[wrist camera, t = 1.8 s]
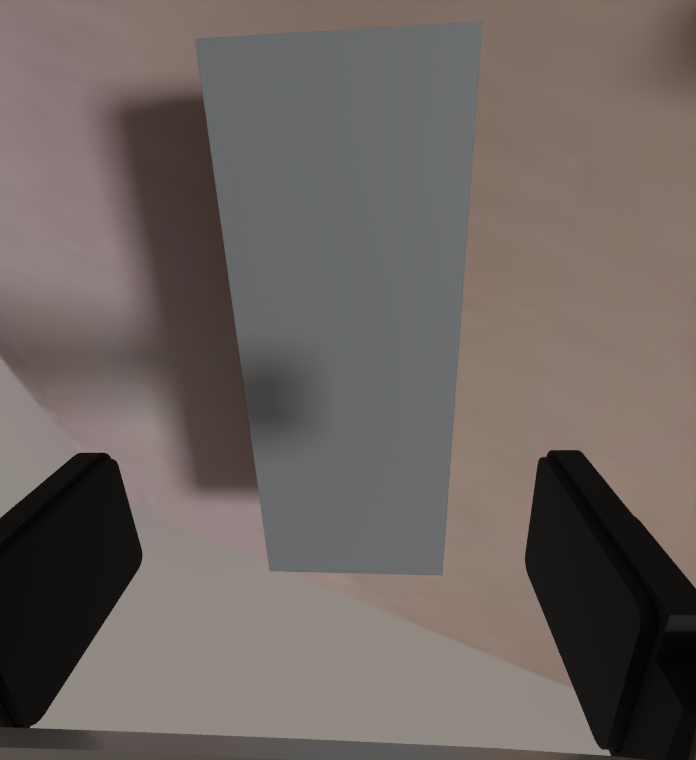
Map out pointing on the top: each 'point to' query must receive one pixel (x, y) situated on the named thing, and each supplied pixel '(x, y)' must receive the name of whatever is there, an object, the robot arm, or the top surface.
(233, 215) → the lid
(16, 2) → the top surface
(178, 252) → the top surface
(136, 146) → the top surface
